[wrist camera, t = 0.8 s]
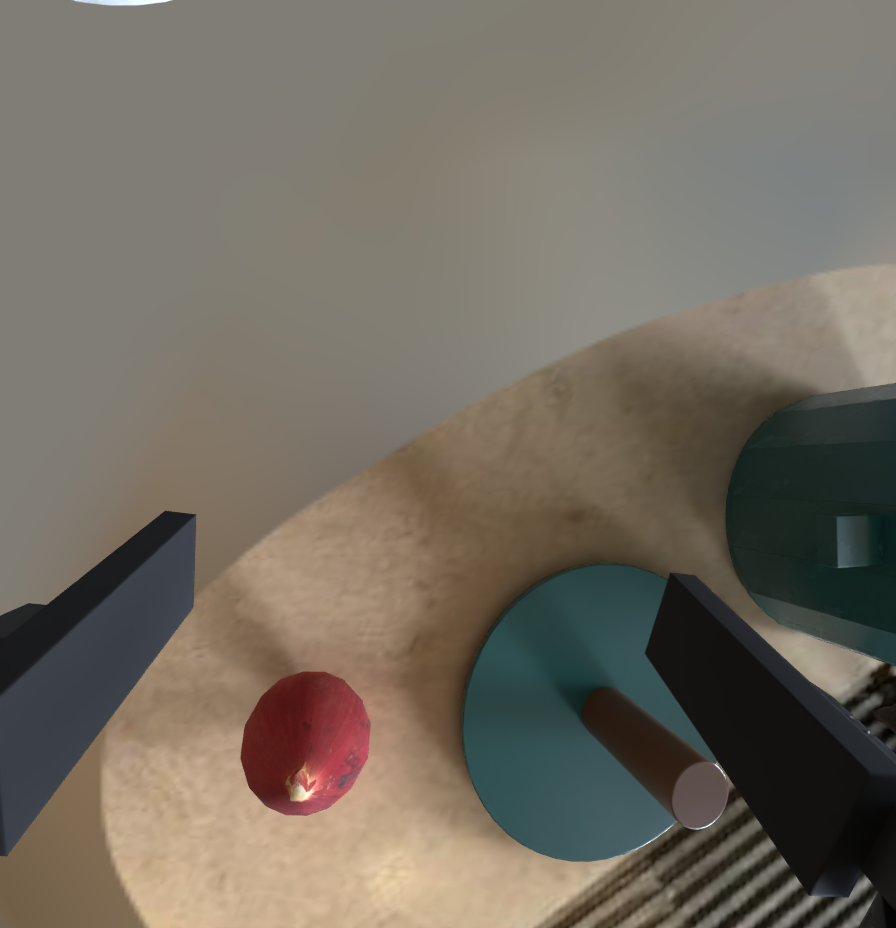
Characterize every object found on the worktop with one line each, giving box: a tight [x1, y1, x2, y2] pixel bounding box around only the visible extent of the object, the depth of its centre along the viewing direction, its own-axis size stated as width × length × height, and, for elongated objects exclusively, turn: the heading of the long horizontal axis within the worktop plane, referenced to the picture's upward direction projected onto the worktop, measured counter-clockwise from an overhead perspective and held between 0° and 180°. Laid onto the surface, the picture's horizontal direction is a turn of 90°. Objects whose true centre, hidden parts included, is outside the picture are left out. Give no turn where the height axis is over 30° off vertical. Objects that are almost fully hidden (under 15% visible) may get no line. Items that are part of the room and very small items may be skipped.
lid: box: [461, 563, 728, 862], centre depth 27 cm, size 18×18×9 cm
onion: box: [241, 672, 370, 816], centre depth 24 cm, size 6×6×8 cm
